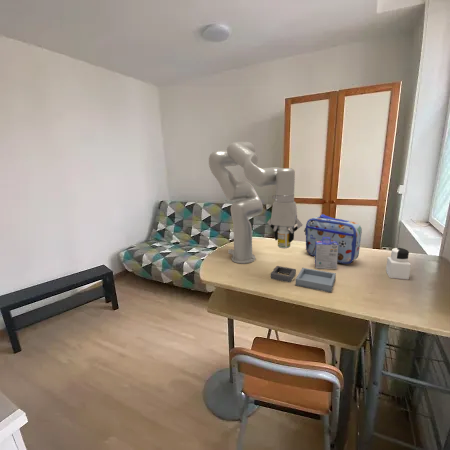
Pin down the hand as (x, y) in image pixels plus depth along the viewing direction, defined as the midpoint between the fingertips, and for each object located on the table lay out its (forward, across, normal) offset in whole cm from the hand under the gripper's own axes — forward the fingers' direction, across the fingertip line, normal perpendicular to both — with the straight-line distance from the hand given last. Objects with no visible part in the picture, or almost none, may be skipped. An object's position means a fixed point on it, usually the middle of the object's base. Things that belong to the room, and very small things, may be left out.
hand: (283, 239), depth 113 cm
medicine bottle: (+17, +44, +21) cm, 52 cm away
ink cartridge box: (+17, +15, +18) cm, 29 cm away
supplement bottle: (+3, 0, 0) cm, 3 cm away
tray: (+17, +14, 0) cm, 22 cm away
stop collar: (+17, 0, 0) cm, 17 cm away
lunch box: (+18, +15, +30) cm, 38 cm away
